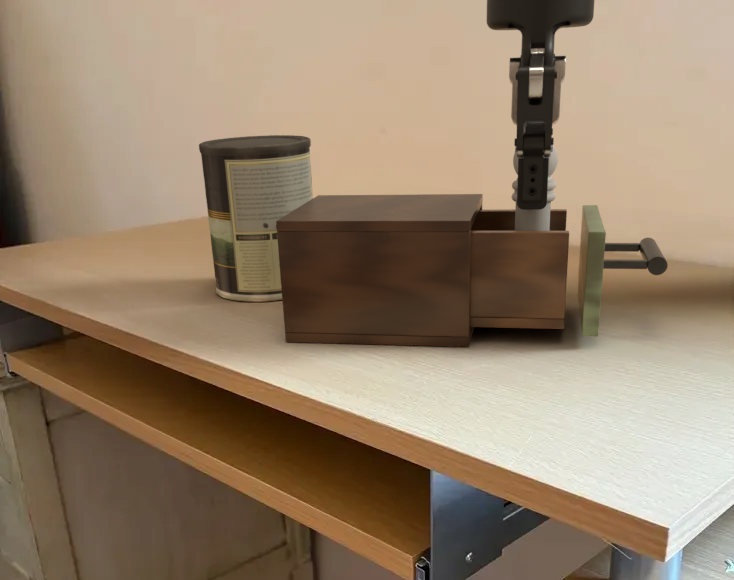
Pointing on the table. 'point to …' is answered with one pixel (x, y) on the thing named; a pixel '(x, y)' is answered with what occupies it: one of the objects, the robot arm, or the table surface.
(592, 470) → the table surface
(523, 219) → the chess piece
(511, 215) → the drawer
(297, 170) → the coffee can
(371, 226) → the cabinet
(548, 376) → the table surface
